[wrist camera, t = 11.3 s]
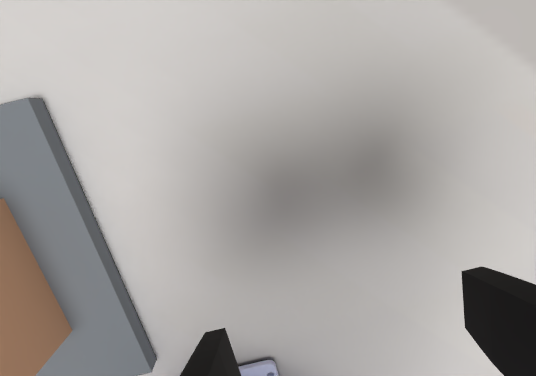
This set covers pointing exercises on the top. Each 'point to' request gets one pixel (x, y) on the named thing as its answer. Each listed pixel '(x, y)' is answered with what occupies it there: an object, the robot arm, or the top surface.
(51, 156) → the rubber mat
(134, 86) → the top surface
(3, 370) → the tan rectangular block
